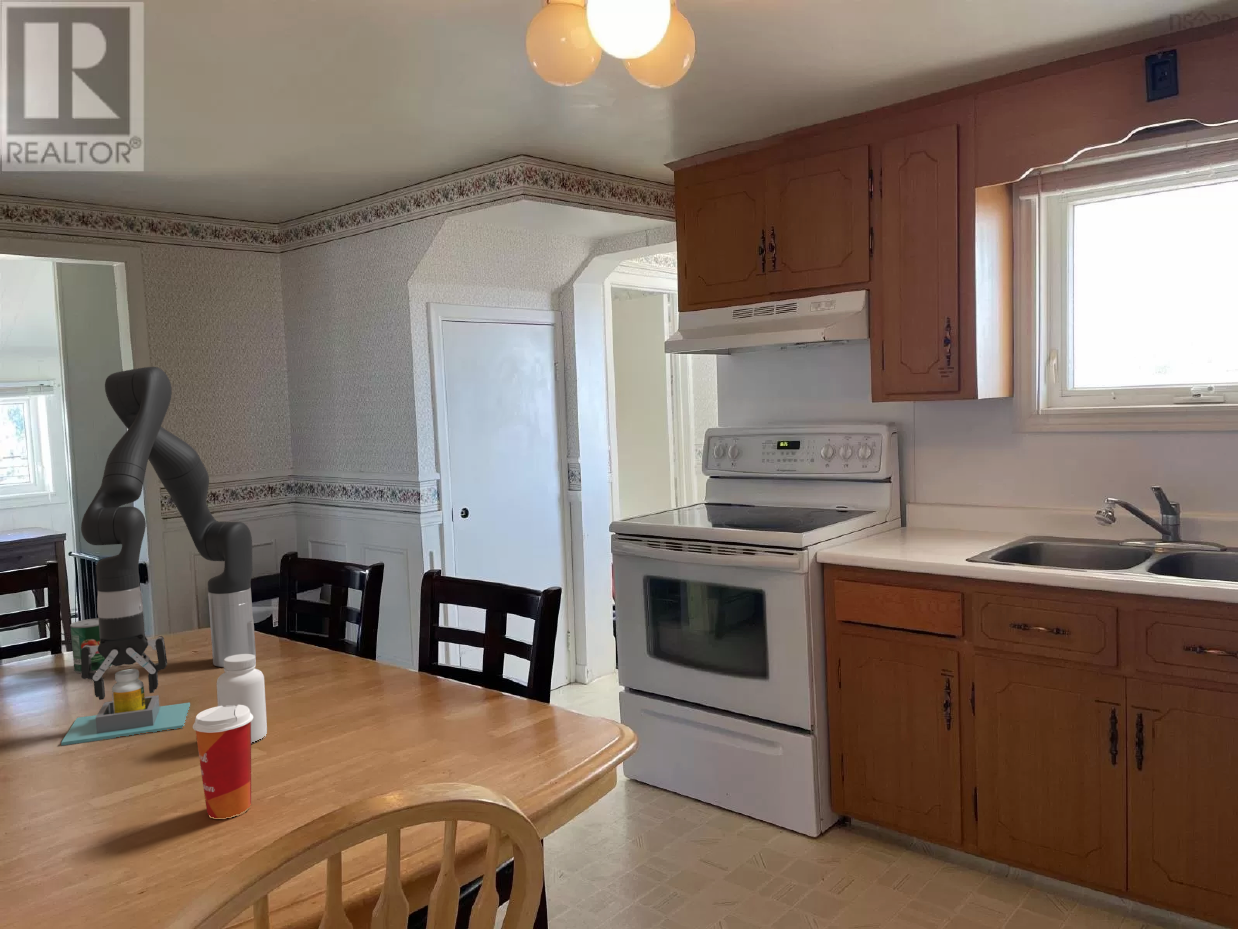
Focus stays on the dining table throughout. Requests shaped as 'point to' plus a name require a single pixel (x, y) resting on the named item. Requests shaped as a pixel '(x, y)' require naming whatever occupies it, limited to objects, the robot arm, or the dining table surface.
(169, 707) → the bottle stand
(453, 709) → the dining table surface
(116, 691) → the supplement bottle
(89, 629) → the canned tomato
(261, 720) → the pill bottle
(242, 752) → the coffee cup
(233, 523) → the robot arm
